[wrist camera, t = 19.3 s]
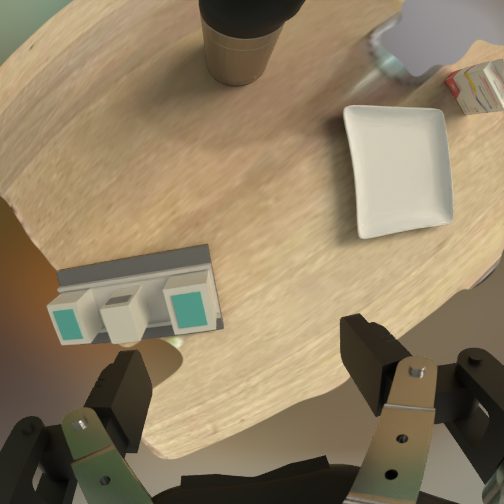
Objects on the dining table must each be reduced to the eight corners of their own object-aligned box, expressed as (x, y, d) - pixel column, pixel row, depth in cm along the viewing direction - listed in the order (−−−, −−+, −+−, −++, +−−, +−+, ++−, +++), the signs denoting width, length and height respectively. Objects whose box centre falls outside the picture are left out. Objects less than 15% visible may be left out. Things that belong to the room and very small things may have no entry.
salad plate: (433, 110, 45) (444, 108, 41) (444, 220, 50) (455, 223, 47) (333, 109, 44) (341, 104, 40) (350, 237, 49) (358, 241, 46)
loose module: (116, 288, 45) (99, 308, 37) (141, 283, 45) (127, 304, 38) (126, 319, 47) (112, 344, 39) (151, 316, 47) (140, 340, 39)
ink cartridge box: (443, 80, 43) (493, 65, 29) (453, 71, 43) (502, 56, 28) (465, 116, 45) (517, 110, 31) (475, 105, 45) (525, 98, 30)
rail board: (59, 269, 45) (36, 285, 37) (207, 243, 47) (204, 257, 39) (83, 340, 49) (66, 363, 41) (223, 324, 50) (224, 350, 42)
